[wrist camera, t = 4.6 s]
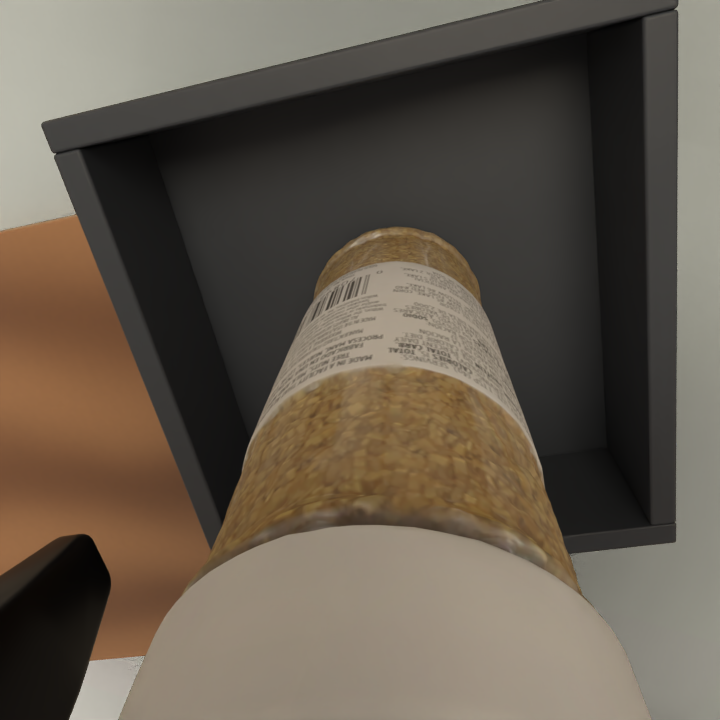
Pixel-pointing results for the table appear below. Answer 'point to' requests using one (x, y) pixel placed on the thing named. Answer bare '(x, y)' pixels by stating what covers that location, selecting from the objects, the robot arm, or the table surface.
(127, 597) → the brown wooden board
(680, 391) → the table surface
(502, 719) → the sprinkles bottle
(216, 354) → the bin
